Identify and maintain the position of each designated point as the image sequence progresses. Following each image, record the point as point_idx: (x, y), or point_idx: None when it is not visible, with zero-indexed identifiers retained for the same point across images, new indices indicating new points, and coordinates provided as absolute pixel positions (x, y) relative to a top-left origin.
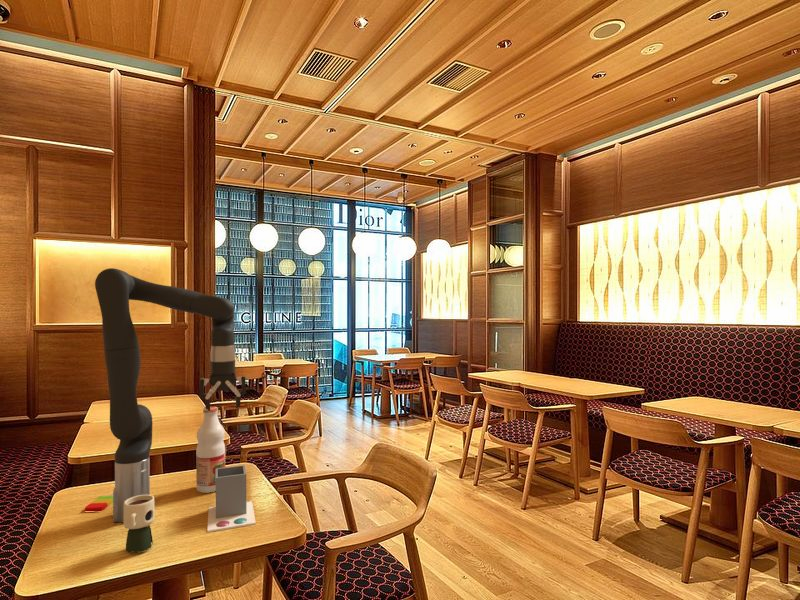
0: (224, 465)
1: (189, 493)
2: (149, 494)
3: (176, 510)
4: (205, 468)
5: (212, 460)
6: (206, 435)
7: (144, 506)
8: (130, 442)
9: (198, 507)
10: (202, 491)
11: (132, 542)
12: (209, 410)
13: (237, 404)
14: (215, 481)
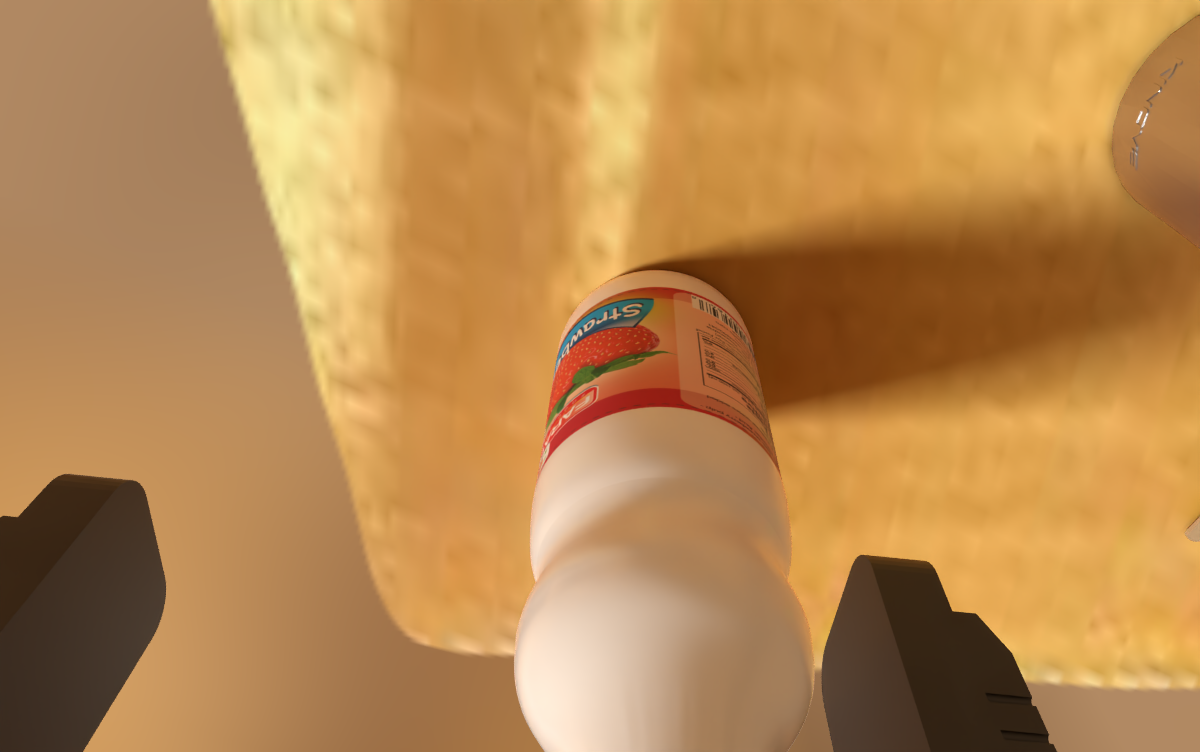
0: (554, 403)
1: (800, 328)
2: (1195, 139)
3: (942, 57)
4: (715, 368)
5: (659, 390)
6: (730, 576)
7: None
8: None
9: (789, 34)
10: (721, 295)
11: None
12: (877, 557)
13: (14, 545)
14: (634, 301)
